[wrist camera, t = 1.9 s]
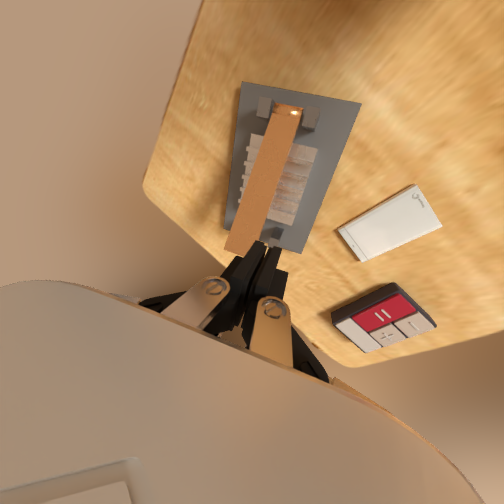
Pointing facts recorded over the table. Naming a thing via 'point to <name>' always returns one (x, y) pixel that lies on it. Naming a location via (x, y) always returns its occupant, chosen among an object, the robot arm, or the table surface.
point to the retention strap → (264, 178)
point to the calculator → (382, 319)
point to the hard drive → (390, 224)
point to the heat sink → (292, 173)
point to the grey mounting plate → (324, 139)
